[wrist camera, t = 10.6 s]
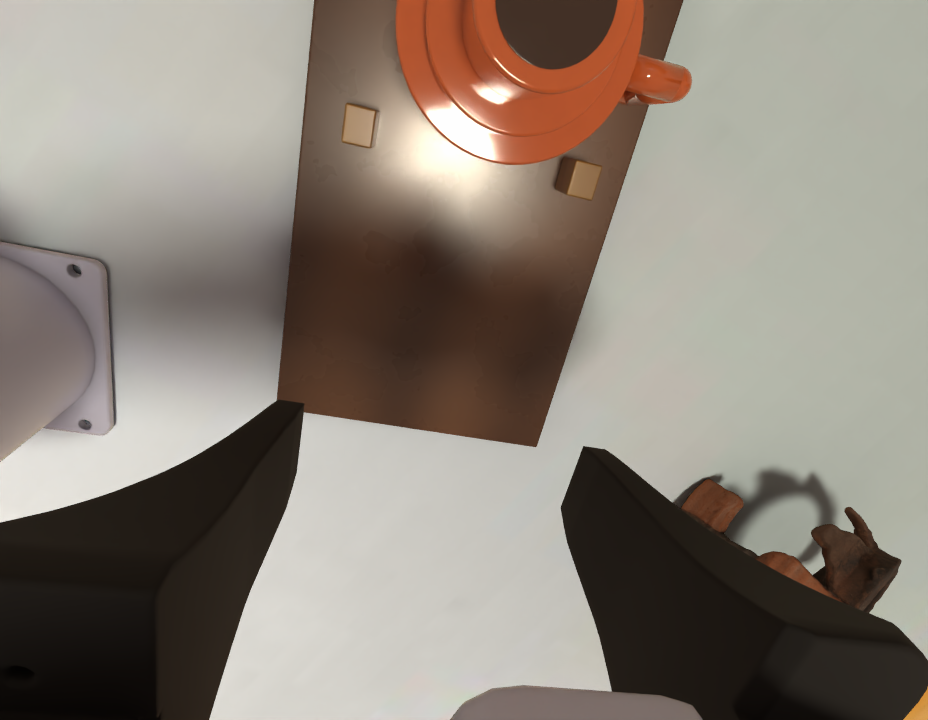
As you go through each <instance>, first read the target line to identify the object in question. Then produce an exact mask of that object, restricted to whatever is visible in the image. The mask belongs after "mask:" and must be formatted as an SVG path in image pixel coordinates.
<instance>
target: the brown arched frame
mask: <svg viewBox="0 0 928 720" xmlns="http://www.w3.org/2000/svg"><path fill="white" fill-rule="evenodd" d="M743 505H744V503H743V500H742V499H741V498H740V497H739V496H738V495H736V494H735V493H733V492H731V491H728V490H726V489H724V488H723V487H722V486H720V485H719V484H717V483H715V482H714V481H712V480H710V479H707V480H705V481H704V482H703V483H702V484H701V485H699V486H698V487H697V488H696V489H695V490H694V491H693V493H692V494H691V495H689V497H688V498H687V500H686V502H685V503H684V504H683V505H682V508H681V510H682V511H684V512H685V513H686V514H688V515H689V516H690V517H692V518H693V519H694V520H696V521H697V522H698V523H700V524H701V525H703V526H704V527H705V528H707V529H708V530H710V531H711V532H713V533H714V534H716V535H717V536H719V537H720V538H722V539H723V540H725V541H727V542H728V543H730V544H731V545H733V546H734V547H736V548H737V549H739V550H741V551H742V552H744V553H746V554H747V555H749V556H751V557H752V558H754V559H756V560H758V561H760V562H761V563H763V564H765V565H767V566H769V567H770V568H772V569H774V570H776V571H778V572H779V573H781V574H783V575H785V576H787V577H789V578H791V579H793V580H795V581H797V582H799V583H801V584H803V585H805V586H807V587H809V588H812V589H814V590H816V591H818V592H820V593H822V594H824V595H826V596H829V597H831V598H833V599H835V600H837V601H840V602H842V603H845V604H847V605H850V606H852V607H854V608H857V609H859V610H862V611H864V612H867V613H869V612H870V611H871V610H872V609H873V607H874V605H875V603H876V602H877V601H878V600H879V599H880V598H881V597H882V595H883V594H884V592H885V591H886V590H887V588H888V587H889V585H890V583H891V582H892V581H893V579H894V578H895V576H896V575H897V573H898V568H899V566H900V564H901V560H900V559H898V558H896V557H893V556H891V555H889V554H887V553H886V552H884V551H882V550H881V549H879V548H878V545H877V543H876V542H875V541H874V539H873V536H872V532H871V531H870V530H869V529H868V527H867V525H866V523H865V522H864V520H863V519H862V518H861V516H860V515H859V514H857V512H856V511H854V510H853V509H852V508H851V507H847V508H846V509H845V513H846V515H847V517H848V518H849V519H850V521H851V522H852V524H853V526H854V528H855V529H854V534H853V533H851V532H847V531H843V530H840V529H839V528H838V527H837V526H835V525H833V524H825V525H822V526H818V527H816V528H814V529H813V530H812V531H811V535H812V537H813V539H814V540H815V541H816V542H817V543H818V545H820V546H821V547H822V555H823V557H824V561H825V566H824V567H823V568H822V569H820V570H819V571H818V572H816V573H815V574H814V575H813V576H812V574H811V573H810V572H809V571H808V570H807V569H806V568H805V567H804V566H803V565H802V564H801V563H800V562H799V560H798V559H797V558H795V557H794V556H789V555H787V554H785V553H782V552H775V551H773V552H769V553H765V554H763V555H761V556H757V555H756V554H755V553H754V552H752V551H751V550H748V549H746V548H744V547H742V546H740V545H738V544H737V543H735V542H733V541H731V540H730V539H729V538H728V537H727V536H726V535H725V534H724V533H725V531H726V530H727V527H728V525H729V523H730V522H731V521H732V519H733V518H734V517H735V515H736V514H737V513H738V511H739V510H740V509H741V508H743Z"/></svg>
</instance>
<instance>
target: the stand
mask: <svg viewBox="0 0 928 720" xmlns="http://www.w3.org/2000/svg"><path fill="white" fill-rule="evenodd" d="M396 2H397V0H314V8H313V19H312V30H311V40H310V51H309V62H308V72H307V83H306V94H305V104H304V115H303V126H302V136H301V147H300V158H299V168H298V179H297V190H296V200H295V211H294V222H293V232H292V243H291V254H290V264H289V275H288V286H287V296H286V307H285V318H284V328H283V339H282V350H281V360H280V371H279V382H278V392H277V400H286V401H292V402H299V403H305V405H304V412H306V413H313V414H320V415H326V416H333V417H340V418H346V419H353V420H359V421H366V422H373V423H379V424H386V425H393V426H399V427H406V428H412V429H419V430H426V431H432V432H439V433H446V434H452V435H459V436H465V437H472V438H479V439H485V440H492V441H499V442H505V443H512V444H518V445H525V446H532V447H536V446H537V444H538V441H539V438H540V435H541V432H542V429H543V426H544V422H545V419H546V416H547V413H548V410H549V407H550V404H551V401H552V398H553V395H554V392H555V389H556V386H557V383H558V380H559V377H560V374H561V371H562V368H563V365H564V362H565V359H566V356H567V353H568V350H569V347H570V343H571V340H572V337H573V334H574V331H575V328H576V325H577V322H578V319H579V316H580V313H581V310H582V307H583V304H584V301H585V298H586V295H587V292H588V289H589V286H590V283H591V280H592V277H593V274H594V271H595V267H596V264H597V261H598V258H599V255H600V252H601V249H602V246H603V243H604V240H605V237H606V234H607V231H608V228H609V225H610V222H611V219H612V216H613V213H614V210H615V207H616V204H617V201H618V198H619V195H620V191H621V188H622V185H623V182H624V179H625V176H626V173H627V170H628V167H629V164H630V161H631V158H632V155H633V152H634V149H635V146H636V143H637V140H638V137H639V134H640V131H641V128H642V125H643V122H644V119H645V116H646V112H647V109H648V106H649V105H640V106H627V105H623V104H619V103H618V104H617V106H616V107H615V109H614V110H613V112H612V113H611V114H610V115H609V117H608V118H607V119H606V120H605V122H604V123H603V124H602V125H601V126H600V127H599V128H598V129H597V130H596V131H595V132H594V133H593V134H592V135H591V136H590V137H588V138H587V139H586V140H584V141H583V142H582V143H580V144H579V145H578V146H576V147H575V148H573V149H571V150H569V151H568V152H566V153H564V154H562V155H559V156H557V157H555V158H552V159H550V160H546V161H542V162H538V163H534V164H525V165H504V164H498V163H492V162H488V161H485V160H482V159H479V158H476V157H474V156H472V155H470V154H468V153H466V152H463V151H462V150H460V149H458V148H457V147H455V146H453V145H451V144H450V143H448V142H447V141H445V140H444V139H442V138H441V137H440V136H439V135H437V134H436V133H435V132H434V131H433V130H432V129H431V128H430V127H429V126H428V125H427V123H426V122H425V121H424V120H423V118H422V117H421V115H420V114H419V112H418V111H417V109H416V107H415V105H414V103H413V101H412V99H411V96H410V93H409V91H408V88H407V85H406V82H405V79H404V75H403V72H402V68H401V64H400V60H399V56H398V50H397V43H396V31H395V13H396ZM682 3H683V0H643V5H644V17H643V32H642V39H641V46H640V50H639V54H642V55H645V56H649V57H652V58H655V59H659V60H662V61H664V58H665V55H666V52H667V49H668V46H669V43H670V40H671V36H672V33H673V30H674V27H675V24H676V21H677V18H678V15H679V12H680V9H681V6H682Z"/></svg>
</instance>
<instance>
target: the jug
mask: <svg viewBox="0 0 928 720" xmlns="http://www.w3.org/2000/svg"><path fill="white" fill-rule="evenodd" d="M643 17H644V5H643V0H397V2H396V13H395V31H396V43H397V50H398V56H399V60H400V64H401V68H402V72H403V75H404V79H405V82H406V85H407V88H408V91H409V93H410V96H411V99H412V101H413V103H414V105H415V107H416V109H417V111H418V112H419V114H420V115H421V117H422V118H423V120H424V121H425V122H426V123H427V125H428V126H429V127H430V128H431V129H432V130H433V131H434V132H435V133H436V134H437V135H439V136H440V137H441V138H442V139H444V140H445V141H447V142H448V143H450V144H451V145H453V146H455V147H457V148H458V149H460V150H462V151H463V152H466V153H468V154H470V155H472V156H474V157H476V158H479V159H482V160H485V161H488V162H492V163H498V164H504V165H525V164H534V163H538V162H542V161H546V160H550V159H552V158H555V157H557V156H559V155H562V154H564V153H566V152H568V151H569V150H571V149H573V148H575V147H576V146H578V145H579V144H580V143H582V142H583V141H584V140H586V139H587V138H588V137H590V136H591V135H592V134H593V133H594V132H595V131H596V130H597V129H598V128H599V127H600V126H601V125H602V124H603V123H604V122H605V120H606V119H607V118H608V117H609V115H610V114H611V113H612V112H613V110H614V109H615V107H616V106H617V104H618V103H619V104H623V105H627V106H640V105H651V104H662V103H673V102H677V101H679V100H681V99H683V98H684V97H685V96H686V95H687V94H688V92H689V90H690V88H691V85H692V77H691V74H690V72H689V71H688V69H686V68H685V67H683V66H680V65H676V64H673V63H669V62H666V61H662V60H659V59H655V58H652V57H649V56H645V55H642V54H639V50H640V46H641V39H642V32H643Z"/></svg>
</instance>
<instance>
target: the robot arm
mask: <svg viewBox="0 0 928 720" xmlns="http://www.w3.org/2000/svg"><path fill="white" fill-rule="evenodd" d="M73 264H74V265H77V266H78V267H79V268H80V269H81V275H80V274H77V273H76V272H75V271H74V270H73ZM304 405H305V403H299V402H292V401H286V400H277V401H276V402H274V403H273V404H271V405H270V406H269V407H267V408H266V409H265V410H263V411H262V412H261V413H259V414H258V415H257V416H255V417H254V418H253V419H251V420H250V421H249V422H247V423H246V424H245V425H243V426H242V427H240V428H239V429H237V430H236V431H234V432H233V433H232V434H230V435H229V436H227V437H226V438H224V439H223V440H221V441H219V442H218V443H216V444H215V445H213V446H211V447H210V448H208V449H206V450H205V451H203V452H201V453H200V454H198V455H196V456H194V457H193V458H191V459H189V460H187V461H185V462H183V463H181V464H179V465H177V466H175V467H173V468H171V469H169V470H166V471H164V472H162V473H160V474H158V475H155V476H153V477H151V478H148V479H145V480H143V481H140V482H138V483H135V484H133V485H130V486H128V487H125V488H123V489H120V490H117V491H115V492H112V493H109V494H106V495H103V496H100V497H97V498H94V499H91V500H88V501H84V502H81V503H77V504H74V505H71V506H67V507H64V508H60V509H56V510H53V511H49V512H45V513H40V514H36V515H32V516H27V517H23V518H19V519H14V520H10V521H6V522H1V523H0V720H209V718H210V715H211V711H212V708H213V705H214V701H215V698H216V695H217V691H218V688H219V685H220V682H221V679H222V675H223V672H224V669H225V666H226V662H227V659H228V656H229V653H230V650H231V646H232V643H233V640H234V637H235V634H236V631H237V628H238V625H239V622H240V618H241V615H242V612H243V609H244V606H245V603H246V601H247V598H248V596H249V593H250V590H251V588H252V585H253V583H254V581H255V579H256V576H257V574H258V572H259V569H260V567H261V565H262V563H263V560H264V558H265V556H266V553H267V551H268V549H269V547H270V544H271V542H272V540H273V537H274V535H275V533H276V531H277V528H278V526H279V524H280V521H281V519H282V517H283V514H284V512H285V510H286V507H287V504H288V500H289V497H290V494H291V490H292V487H293V483H294V480H295V476H296V473H297V464H298V456H299V447H300V439H301V430H302V422H303V413H304ZM84 420H87V421H89V422H90V423H91V425H88V424H87V423H85V421H84ZM113 426H114V415H113V394H112V372H111V351H110V329H109V308H108V286H107V272H106V269H105V267H104V266H103V264H102V263H100V262H99V261H97V260H94V259H91V258H86V257H80V256H75V255H69V254H64V253H59V252H53V251H48V250H42V249H37V248H32V247H26V246H21V245H15V244H10V243H5V242H0V462H1V461H2V460H3V459H5V458H6V457H7V456H8V455H10V454H11V453H12V452H13V451H15V450H16V449H17V448H18V447H20V446H21V445H22V444H23V443H25V442H26V441H27V440H28V439H30V438H31V437H32V436H33V435H35V434H36V433H37V432H38V431H40V430H41V429H42V428H47V429H54V430H62V431H69V432H77V433H84V434H91V435H105V434H107V433H108V432H109V431H110V430H111V429H112V428H113ZM561 512H562V518H563V524H564V529H565V534H566V538H567V543H568V546H569V549H570V552H571V555H572V558H573V561H574V564H575V567H576V570H577V572H578V575H579V578H580V581H581V584H582V587H583V589H584V592H585V595H586V598H587V601H588V604H589V606H590V609H591V612H592V615H593V618H594V621H595V624H596V627H597V631H598V634H599V637H600V641H601V645H602V650H603V654H604V658H605V662H606V666H607V671H608V675H609V679H610V684H611V689H612V692H608V691H595V690H581V689H568V688H554V687H541V686H527V685H522V686H512V687H502V688H492V689H490V690H488V691H486V692H484V693H482V694H480V695H478V696H476V697H474V698H472V699H470V700H467V701H465V702H464V703H463V704H462V705H461V706H460V707H459V709H458V710H457V711H456V713H455V714H454V715H453V717H452V718H451V719H450V720H903V719H904V718H905V717H906V716H907V714H908V713H909V712H910V711H911V710H912V709H913V708H914V706H915V705H916V704H917V703H918V702H919V700H920V699H921V697H922V696H923V694H924V693H925V691H926V690H927V686H928V660H927V659H926V657H925V656H924V654H923V653H922V652H921V651H920V650H919V649H918V648H917V647H916V646H915V645H914V644H913V643H912V642H911V641H910V639H909V638H908V637H907V636H906V635H905V634H904V633H903V632H902V631H901V630H900V629H899V628H898V627H897V626H895V625H894V624H893V623H891V622H889V621H886V620H884V619H881V618H879V617H876V616H874V615H872V614H869V613H867V612H864V611H862V610H859V609H857V608H854V607H852V606H850V605H847V604H845V603H842V602H840V601H837V600H835V599H833V598H831V597H829V596H826V595H824V594H822V593H820V592H818V591H816V590H814V589H812V588H809V587H807V586H805V585H803V584H801V583H799V582H797V581H795V580H793V579H791V578H789V577H787V576H785V575H783V574H781V573H779V572H778V571H776V570H774V569H772V568H770V567H769V566H767V565H765V564H763V563H761V562H760V561H758V560H756V559H754V558H752V557H751V556H749V555H747V554H746V553H744V552H742V551H741V550H739V549H737V548H736V547H734V546H733V545H731V544H730V543H728V542H727V541H725V540H723V539H722V538H720V537H719V536H717V535H716V534H714V533H713V532H711V531H710V530H708V529H707V528H705V527H704V526H703V525H701V524H700V523H698V522H697V521H696V520H694V519H693V518H692V517H690V516H689V515H688V514H686V513H685V512H684V511H682V510H681V509H680V508H678V507H677V506H676V505H674V504H673V503H672V502H671V501H669V500H668V499H667V498H666V497H664V496H663V495H662V494H661V493H659V492H658V491H657V490H656V489H655V488H653V487H652V486H651V485H650V484H648V483H647V482H646V481H645V480H644V479H642V478H641V477H640V476H639V475H638V474H636V473H635V472H634V471H633V470H632V469H630V468H629V467H628V466H627V465H625V464H624V463H623V462H622V461H620V460H619V459H618V458H617V457H615V456H614V455H612V454H611V453H610V452H608V451H607V450H605V449H598V448H592V447H585V446H583V449H582V452H581V454H580V457H579V460H578V462H577V465H576V468H575V470H574V473H573V476H572V479H571V481H570V484H569V487H568V489H567V492H566V495H565V497H564V500H563V503H562V506H561Z"/></svg>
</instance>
